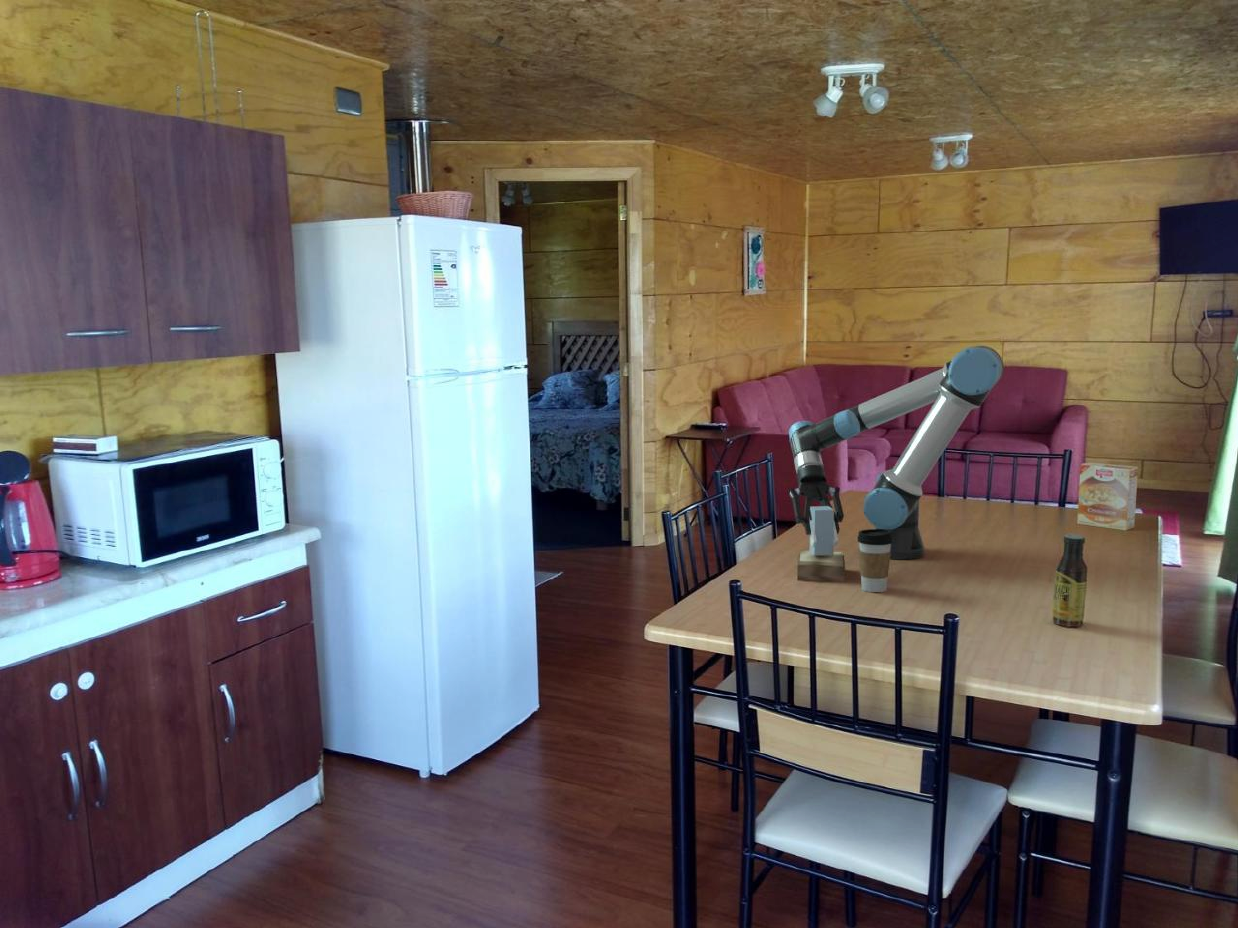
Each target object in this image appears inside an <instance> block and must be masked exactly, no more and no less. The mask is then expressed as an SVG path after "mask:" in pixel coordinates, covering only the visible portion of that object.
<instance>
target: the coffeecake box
mask: <svg viewBox="0 0 1238 928" xmlns="http://www.w3.org/2000/svg"><path fill="white" fill-rule="evenodd" d="M1138 471H1139V467H1138V466H1133V465H1123V464H1122V465H1121V464H1111V463H1102V462H1091V461H1088V462H1083V463H1081V464H1080V469H1079V483H1078V484H1079V487H1078V503H1077V521H1076V522H1077V525H1083V526H1090V527H1097V528H1098V527H1099V528H1104V529H1112V530H1119V531H1129V530H1130V529H1133V528H1135V518H1136V504H1137V502H1136V501H1137V492H1138V491H1137V488H1138V487H1137V486H1138V474H1139V472H1138Z"/></svg>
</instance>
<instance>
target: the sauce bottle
mask: <svg viewBox="0 0 1238 928" xmlns="http://www.w3.org/2000/svg"><path fill="white" fill-rule="evenodd" d="M1085 540H1086V537H1085V536H1084V535H1080V534H1076V533H1075V534H1074V533H1071V534H1070V533H1069V534H1068V533H1067V534H1065V535H1064V536H1063V552H1062V553H1063V554H1062V556H1061V558H1060V560H1059V562H1058V565H1057V566H1056V569H1055V576H1054V586H1053V587H1054V589H1053V599H1052V600H1053V603H1052V613H1051V614H1052V621H1053V623H1054V624H1055V625H1058V626H1061V627H1064V628H1078V627H1081V626H1083V624H1084V621H1083V620H1084V618H1085V608H1086V607H1085V606H1086V605H1085V604H1086V597H1087V596H1086V595H1087V584H1088V583H1087V582H1088V580H1087V578H1088V577H1087V576H1088V566H1087V564H1086V562H1085V560H1084V559H1083V558H1084V553H1083V552H1084V545H1085Z"/></svg>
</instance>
